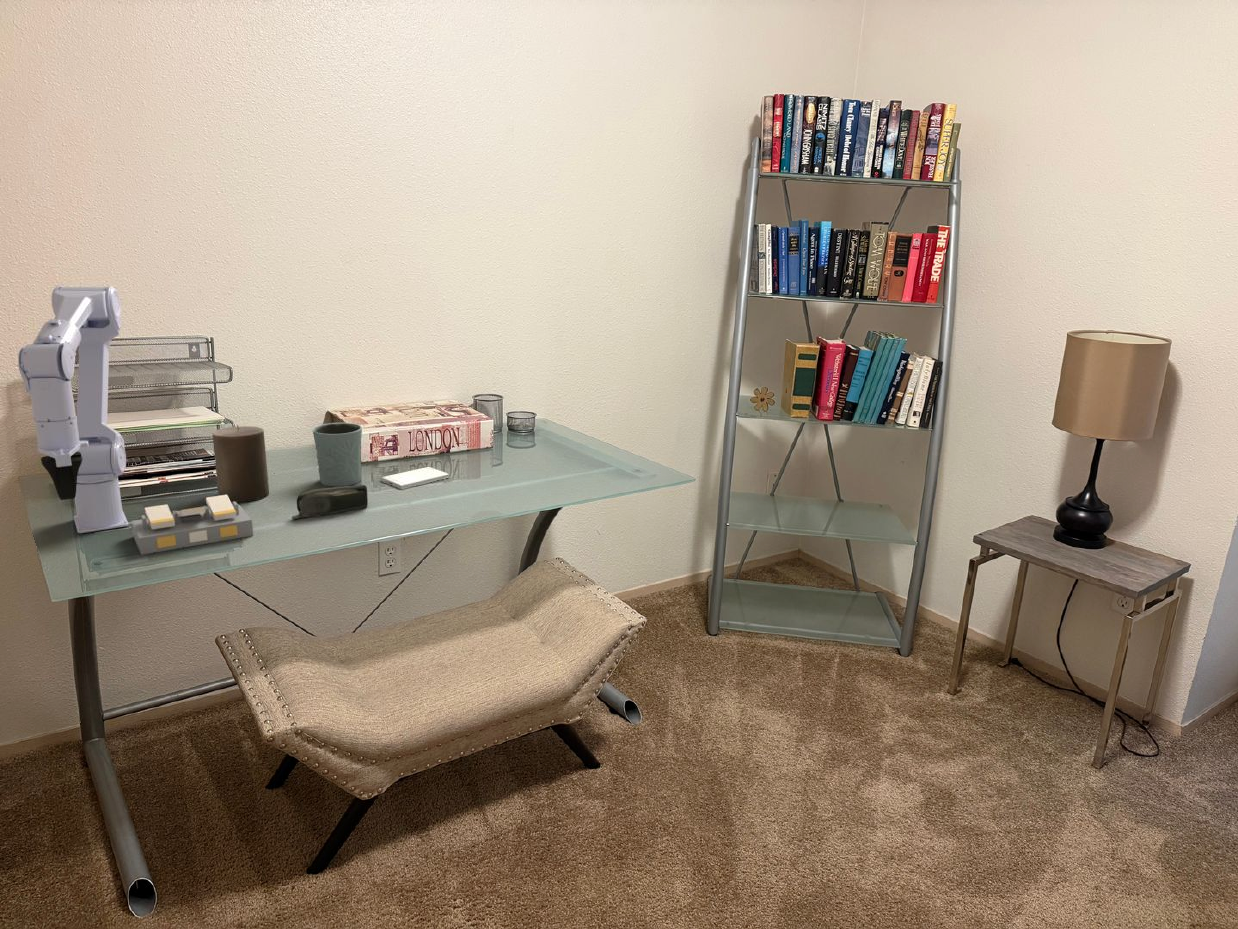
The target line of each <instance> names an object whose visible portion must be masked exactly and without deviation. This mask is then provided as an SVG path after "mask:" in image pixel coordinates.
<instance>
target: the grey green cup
mask: <svg viewBox="0 0 1238 929" xmlns="http://www.w3.org/2000/svg"><path fill="white" fill-rule="evenodd" d="M362 433H363V427H362V426H361V425H360V424H357V423H353V422H330V423H323V424H319V425H317V426H315V427H313V429H312V434H313V439H314V444H315V450H316V459H317V465H318V476H319V481H320V484H321V485H324V486H327V487H345V486H354V485H357V484H358V483H360V482H361V480H362V465H361V462H362V438H363V437H362V435H363V434H362Z"/></svg>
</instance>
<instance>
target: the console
mask: <svg viewBox="0 0 1238 929" xmlns="http://www.w3.org/2000/svg"><path fill="white" fill-rule="evenodd" d="M232 505H233V507H234V509H235V511H236V517H235V518H229V519H222V520H216V521H215V520H214V518H213V516H212V513H211V511H210V509H209V507H208V505H203V506H202V507H205V513H200V514H193V515H187V516H180V517H178V512H177V511H178V510H172V516H173V518H174V521H175V526H171V527H165V528H158V529H151V526H150V524H149V521H148V518H147V516H146V514H142V515H141V519H135V520H134V519H133V520H131V527H132V528H131V529H132V536H133V539H134V541H135V544H136V546H137V549H138V551H139V553H140V555H147V554H154V552H155V553H160V552H165V551H171V550H177V548H178V549H183V547H184V548H190V547H194V546H201V545H205V544H207V545H208V544H210V543H218V542H223V541H228V540H235V539H241V538H242V539H243V538H247V537H252V536H254V531H253V529H254V528H253V520H252V518H251V517H250V516H249V514H247V512H246V511H245V510H244V509H243V508H242V506H241V505H240V504H238V502H236V501H235V502H232Z"/></svg>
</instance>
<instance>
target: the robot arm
mask: <svg viewBox="0 0 1238 929" xmlns="http://www.w3.org/2000/svg"><path fill="white" fill-rule="evenodd" d="M51 306H52V311H53V313H54V315H55V316H54V319H53V318H52V319H49V320H47V321H46V322H45V323H44V324H43V325H42V327H41V329H40V330H39V332H38V334H37V336H36V337H35V339H34V340H33V342H32V343H30V344H29V343H27V344H26V345H25V346H24V347H21V348H20V349H19V352H18V354H17V355H18V356H17V363H18V365H17V366H18V371H19V373H20V375H21V378H22V380H23V383H24V387H25V388H24V389H25V390H26V392H27V393H29V394H30V401H31V407H32V413H33V421H34V427H35V432H36V439H37V447H36V448H37V452H38V453H40V454H42V455H45V456H42V457H41V458H40V461H41V465H42V467H44V469H45V470H46V471H47V472H48V474H49V476H50V478H51V479H52V481H53V484H54V488H55V491H56V493H57V496H58V497H59V500H61V501H65V500H71V499H74V504H75V510H76V515H74V516H73V519H74V520H73V521H74V524H75V528H76V530H77V533H78V534H84V533H85V534H86V533H92V532H97V531H103V530H104V531H105V530H110V529H111V530H112V529H116V528H122V527H123V528H124V527H128V526H129V522H128V520H127V517H126V515H125V512H124V511H123V505H122V498H121V490H120V484H119V476H122V474H123V473H124V472H125V470H126V466H127V454H126V449H125V439H124V438H123V436H122V434H121V433H120V432H118V431H117V430H116V429H114V428H112V427H111V426H109V425H108V408H109V407H108V406H109V405H108V401H109V400H108V398H109V370H110V368H109V367H110V365H109V363H110V361H109V360H110V359H109V358H110V356H109V355H110V348H111V341H112V340H113V339H114V338H117V337H118V336H119V335H120V334H121V328H122V305H121V298H120V295H119V292H118V290H117V289H116V288H114V287H113V286H112V285H110V286H109V285H108V286H62V285H57V286H56V287H54V289H53V290H52V292H51ZM78 348H79V349H78ZM77 350H78V371H77V372H78V373H77V374H78V376H77V380H78V381H77V402H76V408H75V401H74V395H73V387H72V386H73V385H72V378H74V375H75V363H76V356H75V354H76V352H77Z"/></svg>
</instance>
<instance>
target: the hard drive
mask: <svg viewBox="0 0 1238 929" xmlns="http://www.w3.org/2000/svg"><path fill="white" fill-rule="evenodd" d="M446 478H449V479H450V474H449V473H448V472H444V471H442V470H440V469H439V470H438V469H436V468H434V467H430V466H427V467H423V468H418V469H411V470H408V471H407V470H406V471H404V472H400V473H395V474H391V475H386V476H381V477H380V482H382V483H384V484H387V485H389V486H391V485H392V486H391V487H393V488H396V487H397V488H396V489H399V490H405V488H406V489H410V488H413V487H412V486H414V487H417V486H416V485H419V486H421V485H427V484H431V483H430V482H432V483H434V482H433V481H436V480H439V479H444V480H447V479H446ZM436 482H437V481H436ZM409 487H410V488H409Z"/></svg>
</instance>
